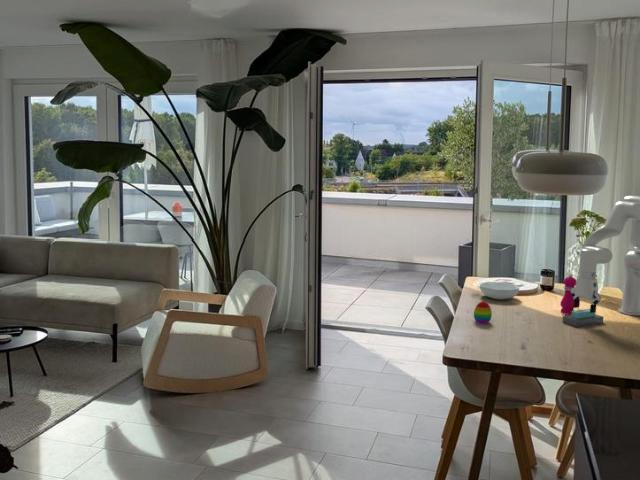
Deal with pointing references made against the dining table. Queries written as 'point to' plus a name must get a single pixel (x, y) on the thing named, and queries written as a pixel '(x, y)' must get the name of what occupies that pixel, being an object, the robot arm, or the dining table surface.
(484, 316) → the decorative egg
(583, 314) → the clip
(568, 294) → the pepper mill
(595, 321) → the rail
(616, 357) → the dining table surface
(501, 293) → the serving bowl
